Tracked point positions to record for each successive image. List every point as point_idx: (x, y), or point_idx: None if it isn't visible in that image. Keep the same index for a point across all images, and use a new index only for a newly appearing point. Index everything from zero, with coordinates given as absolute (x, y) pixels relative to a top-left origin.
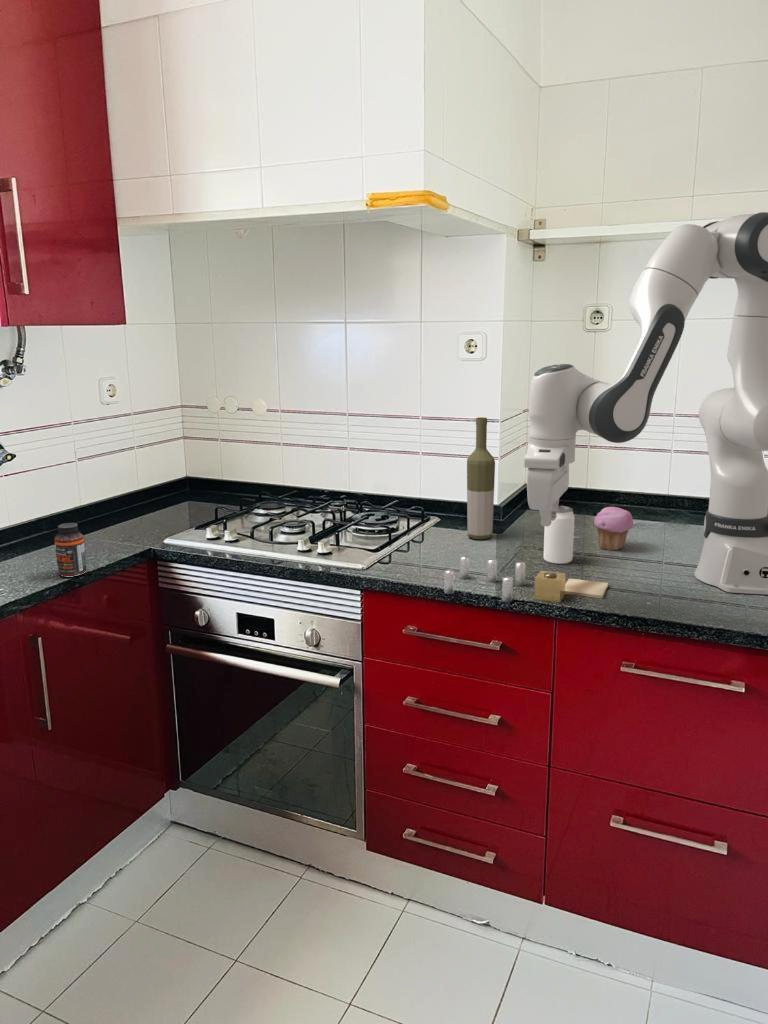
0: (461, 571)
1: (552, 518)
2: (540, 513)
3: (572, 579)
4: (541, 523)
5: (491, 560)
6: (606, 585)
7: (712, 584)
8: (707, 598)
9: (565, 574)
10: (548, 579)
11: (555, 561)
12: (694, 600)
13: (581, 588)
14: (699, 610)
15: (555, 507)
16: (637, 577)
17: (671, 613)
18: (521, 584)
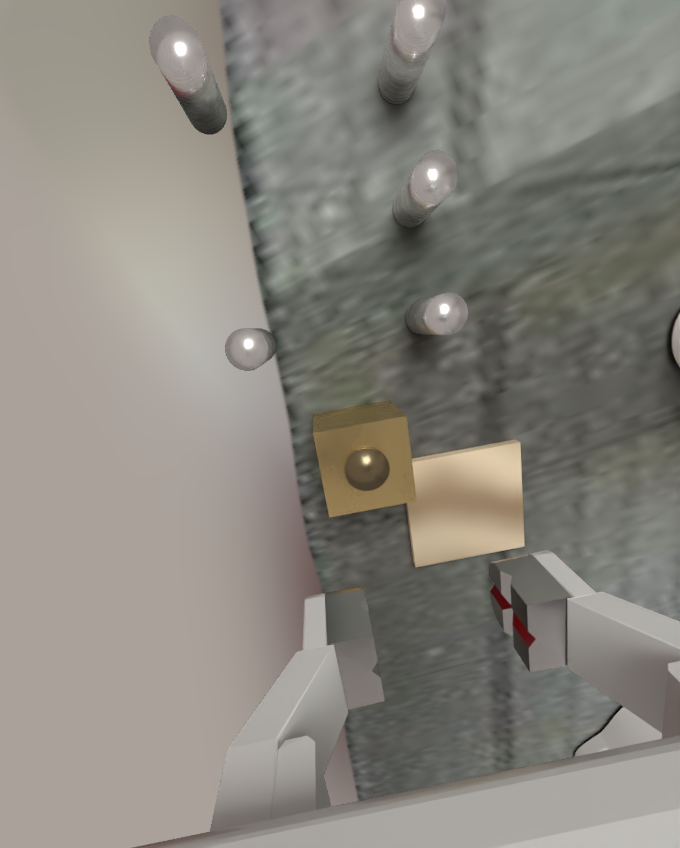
0: (384, 54)
1: (498, 608)
2: (271, 693)
3: (514, 455)
4: (304, 608)
5: (430, 175)
6: (500, 549)
7: (611, 723)
8: (522, 730)
9: (414, 499)
10: (323, 478)
11: (676, 340)
12: (497, 715)
13: (446, 504)
14: (438, 737)
15: (603, 683)
16: (617, 577)
17: (392, 704)
18: (410, 328)
